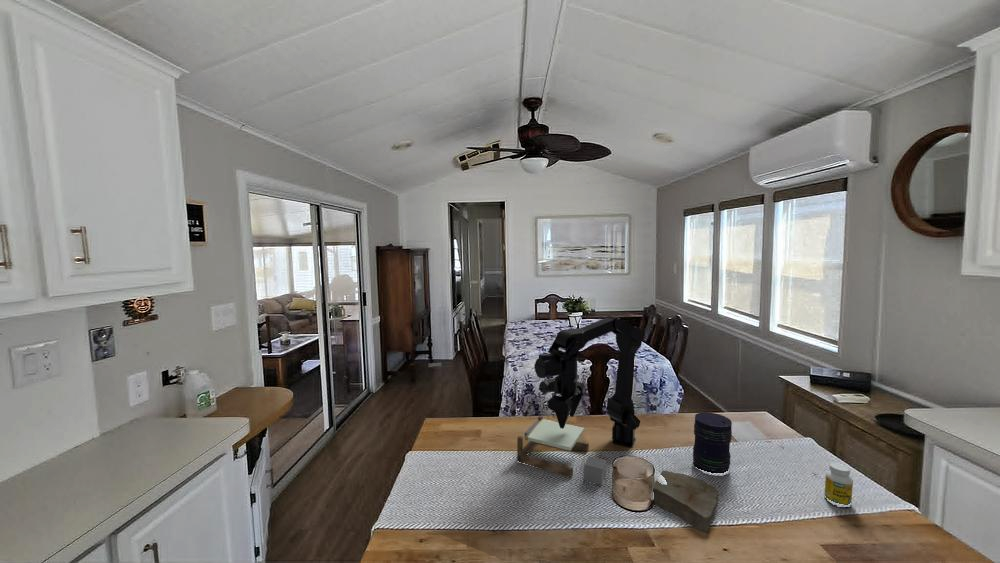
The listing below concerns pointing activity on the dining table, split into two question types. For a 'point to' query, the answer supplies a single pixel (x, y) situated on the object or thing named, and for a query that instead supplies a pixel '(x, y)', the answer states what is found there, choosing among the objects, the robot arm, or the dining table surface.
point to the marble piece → (687, 499)
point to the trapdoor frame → (543, 463)
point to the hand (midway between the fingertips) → (566, 422)
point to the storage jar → (712, 442)
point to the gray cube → (595, 470)
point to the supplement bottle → (838, 484)
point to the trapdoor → (554, 434)
